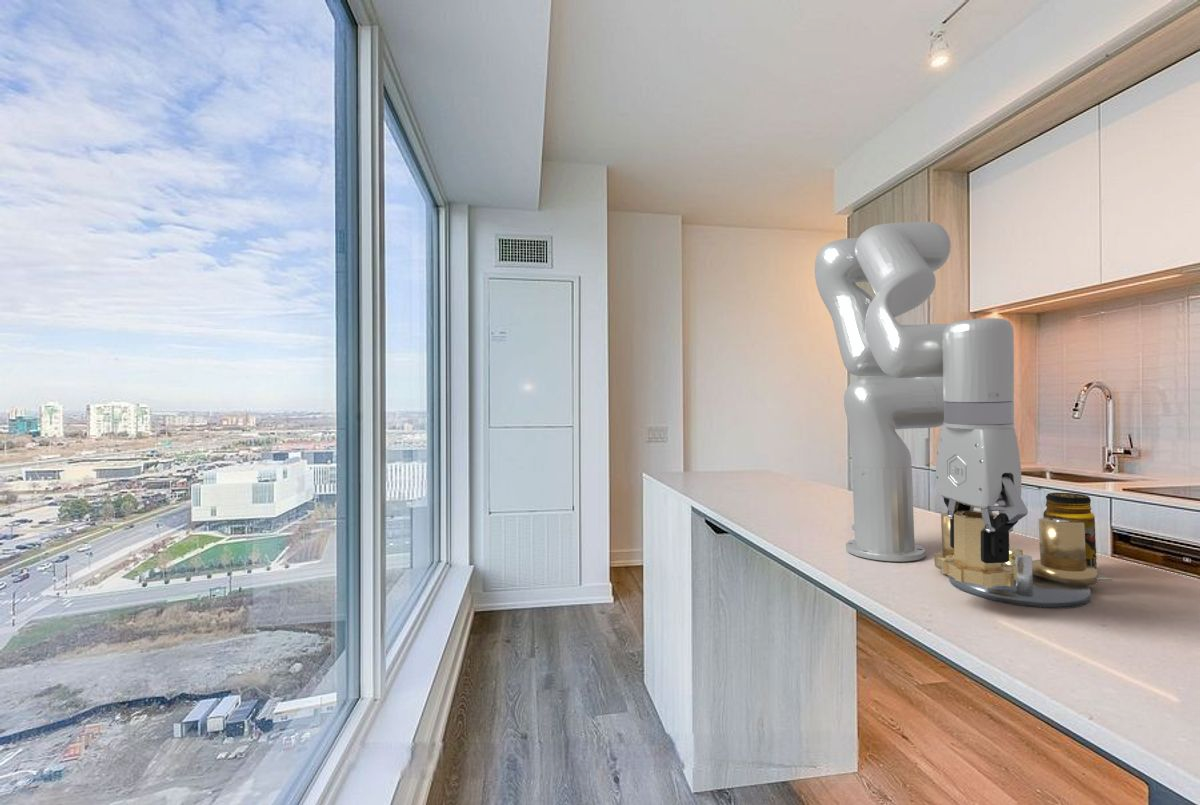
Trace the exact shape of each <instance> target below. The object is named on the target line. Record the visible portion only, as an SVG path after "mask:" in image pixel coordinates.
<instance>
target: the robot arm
mask: <svg viewBox="0 0 1200 805" xmlns="http://www.w3.org/2000/svg"><path fill="white" fill-rule="evenodd" d="M951 245H952V244H951V239H950V235H949V233H948V231H947V230H946V229H945V228H944V227H943V225H941V224H939V223H937V222H934V221H914V222H913V221H911V222H909V221H908V222H890V223H881V224H877V225H873V226H871V227H869V228H868V229H867V228H866V230H865V231H863V232H862V233H861V234H860V235H859V237H851V238H850V237H849V238H841V239H836V240H833V241H829V242H828V243H826V244H824V245H823V246H822V247H820V249H819V250H818V252H817V254H816V258H815V261H814V279H815V284H816V288H817V291H818V293H819V296H820V298H821V300H822V302H823V304H824V305H825V308H826V309H827V311H828V313H829V315H830V318H831V319H832V322H833V323H832V324H833V327H834V331H835V335H836V340H837V344H838V349H839V352H840V355H841V360H842V363H843V366H844V368H845V369H846V370H847V372H848V373H850V374H851V375H853V376H857V377H861V378H858V379H856V380H854V381H852V382H851V383H850V384H849V385H848V386H847V387H846V388H845V389H846V390H845V391H844V395H843V406H844V411H845V415H846V421H847V426H848V431H849V437H850V448H851V449H850V450H851V469H852V470H851V472H852V494H853V495H852V497H853V498H852V499H853V502H852V503H853V524H852V525H851V530H853V532H854V539H851V540H849V541H847V542H846V543H845V550H846V551H847V552H848V553H850V554H851V555H853V556H857V557H860V558H862V559H863V558H864V559H868V560H874V561H883V562H896V563H897V562H913V561H919V560H922V559H924V558H925V557H926V549H925V548H924V547H923V546H921V545H919V544H916V543H915V521H914V520H915V518H914V496H913V495H914V492H913V491H914V490H913V487H914V486H913V466H912V454H911V452H910V449H909V447H908V445H907V444H906V443H905V442H904V441H903V439H902V438H901V437H900V435H899V434H898V433H897V430H902V429H904V430H906V429H907V430H908V429H912V430H913V429H932V428H938V427H940V430H939V435H938V440H937V447H936V448H937V449H936V459H935V460H936V461H935V491H936V492H937V494H939V495H940V497H942V498H943V502H944V504H945V506H946V507H947V510H946V513H947V515H948V517H949V518H952V519H950V546H951V547H952V548H954V513H956V512H957V511H968V510H974V509H975V508H977V509H980V511H981V513H982V518H983V523H984V527H985V530H983V531H981V561H982V562H984V563H1006V562H1008V561H1009V548H1010V533H1011V532H1013V531H1014V526H1015V525H1016V524H1017V523H1018V522H1019V521H1020V520H1021V519H1023V518H1025V516H1027V515H1028V514H1029V510H1028V508H1027V506H1026V505H1025V502H1024V501H1023V499H1022V489H1023V488H1022V467H1021V457H1020V450H1019V449H1020V448H1019V443H1018V442H1019V441H1018V436H1017V433H1016V429H1015V396H1014V395H1015V394H1014V393H1015V389H1014V388H1015V382H1014V381H1015V380H1014V379H1015V365H1014V364H1015V362H1014V361H1015V346H1014V345H1015V337H1014V336H1015V334H1014V326H1013V325H1012V323H1011V322H1010V321H1009V320H1007V319H1005V318H997V317H993V318H991V317H989V318H988V317H987V318H986V317H985V318H975V319H974V318H973V319H972V318H971V319H963V320H958V321H953V322H950V323H930V324H929V323H928V324H927V323H926V324H925V323H924V324H900V323H899V322H898V321H897V320H896V317H899V316H901V315H904V314H905V313H908V312H910V311H912V310H914V309H916V308H918V307H919V306H920V305H922V304H923V303H925V302H926V301H927V300H928V299H929V298H930V297H931V295H932V294H933V292H934V290H935V288H936V283H937V281H936V280H937V278H936V275H935V273H934V272H936V271H937V270H940V269H941V268H942V267H944V265H945V264H946V263H947V261H948V258H949V257H950V253H951V247H952V246H951ZM857 283H869V285H870V287H871V289H872V290H873V292H874V295H875V296H874V297H872V296H871V295H870V294H869V293H868V292H867V291H866V290H864V289H863V288H861V287H860V286H858V285H857ZM862 377H863V378H862ZM974 511H975V510H974ZM993 512H998V514H997V515H998V516H997V517H996V518H995V519H994V518H993V514H992V513H993Z"/></svg>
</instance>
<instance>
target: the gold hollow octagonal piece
mask: <svg viewBox="0 0 1200 805" xmlns="http://www.w3.org/2000/svg"><path fill="white" fill-rule="evenodd" d="M992 514H993V518H994V519H995V518H996V517H997V516H998V515H999V514H997V513H994V512H992ZM983 530H985V527H984V523H983V518H982V513H981V510H968V511H957V512H956V513H954V555H946V560H942V570H941V572H942V574H943V575H948V577H949V576H951V577H953V578H955V580H956V581H959V582H968V583H973V584H978V585H983V586H984V587H992V586H1010V587H1011V586H1014V580H1017V567H1016V566H1013V565H1009V564H1007V563H984V562H982V561H981V531H983Z"/></svg>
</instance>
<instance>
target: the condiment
mask: <svg viewBox="0 0 1200 805" xmlns="http://www.w3.org/2000/svg"><path fill="white" fill-rule="evenodd" d="M1045 500H1046V501H1045V506H1046V509H1045V510H1044V511H1043V514H1042V515H1043V517H1042V518H1062V519H1071V520H1077V521H1081V522H1083V523H1084V529H1085V552H1086V565H1088V566H1091V567H1093V568H1095V569H1096V570H1097V571H1098V567H1097V565H1098V564H1097V546H1096V521H1095V520H1096V519H1095V515H1094V513H1093V512H1092V511H1091V510H1092V507H1091V504H1092V503H1091V501H1092V500H1091V498H1090V496H1088V495H1086V494H1082V493H1081V494H1080V493H1071V492H1049V493H1047V494H1046V496H1045ZM1098 580H1105V581H1106V580H1112V578H1111V577H1108V576H1106V575H1102V574H1100V573H1098V572H1097V581H1098Z"/></svg>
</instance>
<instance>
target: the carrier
mask: <svg viewBox="0 0 1200 805" xmlns="http://www.w3.org/2000/svg"><path fill="white" fill-rule="evenodd" d="M950 519H952V518H949V517H948V515H947V512H942V513H941V514H940V527H941V551H939V552H935V553H934V554H933V555H934V556H933V557H934V567H935V568H937V569H939V570H941V571H942V560H946V555H954V548H952V547H951V546H950ZM1038 534H1039V536H1038V537H1039V540H1038V541H1039V558H1040V559H1034V560H1033V557H1032V556H1030V555H1026V554H1024V550H1023V549H1022V548H1021V549H1020V548H1015V547H1009V561H1008V562H1006V563H1007V564H1009V565H1013V566H1016V567H1017V580H1014V586H1011V587H1010V586H992V587H984V586H983V585H978V584H973V583H968V582H959V581H956V580H955V578H953V577H951V576H949V575H948V582H949V583H950V584H951V585H952V586H953V587H955V588H957V589H958V590H960V591H963V592H964V593H967V594H969V595H972V596H976V597H979V598H983V599H987V600H991V601H993V602H1000V603H1005V604H1010V605H1011V604H1012V605H1015V606H1016V605H1017V606H1024V607H1032V608H1045V609H1046V608H1047V609H1067V608H1069V607H1070V608H1076V607H1077V606H1078V607H1081V605H1083V606H1085V605H1088V604H1089V603H1090V602H1091V600H1092V599H1091V588H1090V586H1093V585H1096V584H1098V580H1097V573H1098V569H1097V570H1096V569H1095V568H1093V567H1091V566H1088V565H1086V552H1085V529H1084V523H1083V522H1081V521H1077V520H1071V519H1062V518H1043V517H1042V518H1038ZM1088 602H1089V603H1088ZM1087 603H1088V604H1087ZM1078 607H1077V608H1078ZM1070 608H1069V609H1070Z"/></svg>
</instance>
